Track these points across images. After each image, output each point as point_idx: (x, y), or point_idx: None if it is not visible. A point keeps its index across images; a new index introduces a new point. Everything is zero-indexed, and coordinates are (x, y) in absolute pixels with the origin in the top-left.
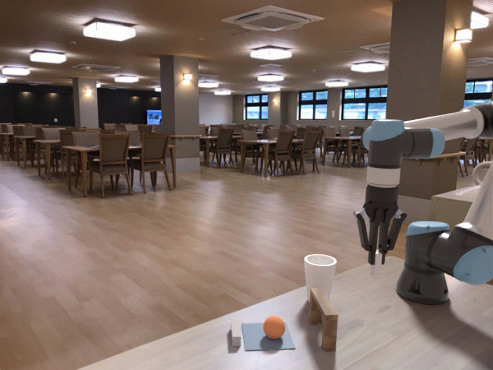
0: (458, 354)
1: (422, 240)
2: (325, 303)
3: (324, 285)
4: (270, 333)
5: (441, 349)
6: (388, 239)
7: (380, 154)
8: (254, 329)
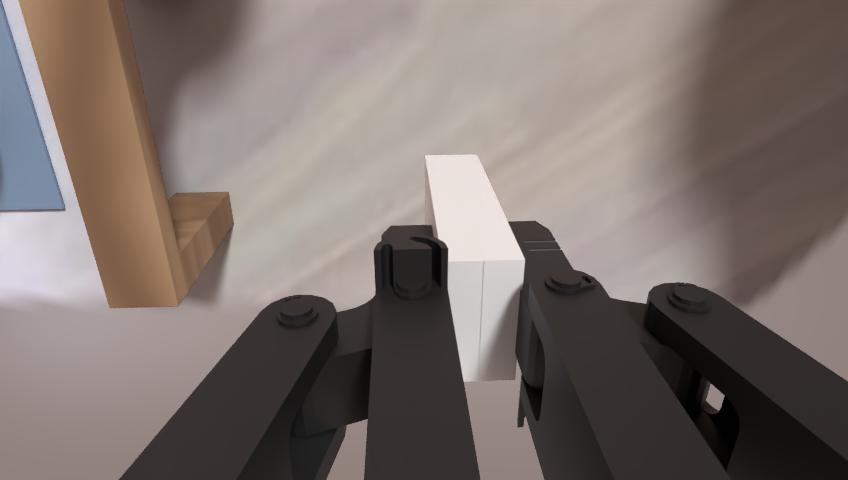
0: (692, 261)
1: None
2: (115, 184)
3: None
4: None
5: (653, 231)
6: (736, 390)
7: None
8: None
